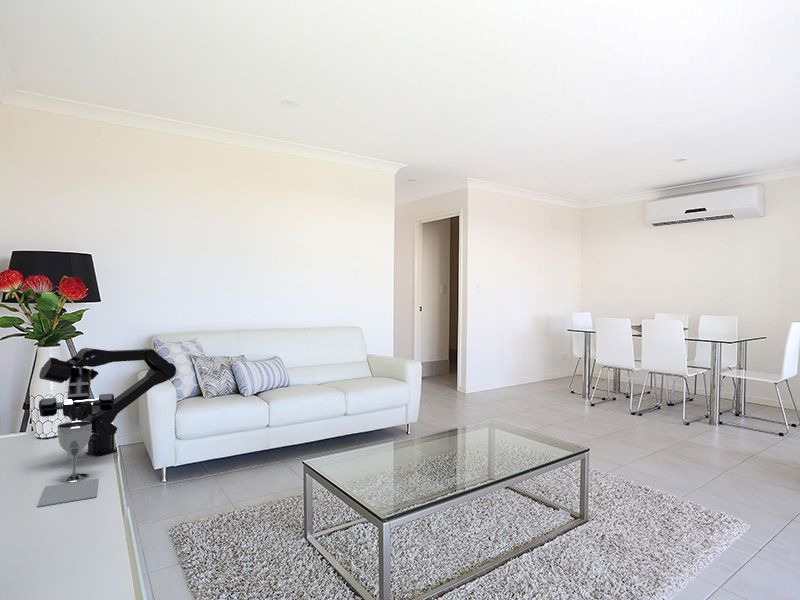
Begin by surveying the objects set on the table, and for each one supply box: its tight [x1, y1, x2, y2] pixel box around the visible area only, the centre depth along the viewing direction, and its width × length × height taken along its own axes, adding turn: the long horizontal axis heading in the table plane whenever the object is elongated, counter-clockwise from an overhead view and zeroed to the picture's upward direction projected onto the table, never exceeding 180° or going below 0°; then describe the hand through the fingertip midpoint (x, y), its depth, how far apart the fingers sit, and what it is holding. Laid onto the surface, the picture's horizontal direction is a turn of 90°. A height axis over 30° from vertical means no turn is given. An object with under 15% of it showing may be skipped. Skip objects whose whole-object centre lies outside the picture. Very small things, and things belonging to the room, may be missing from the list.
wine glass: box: [57, 420, 92, 483], centre depth 134 cm, size 8×8×15 cm
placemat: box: [36, 478, 99, 508], centre depth 124 cm, size 14×12×1 cm
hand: (76, 429), depth 140 cm, fingers closed
